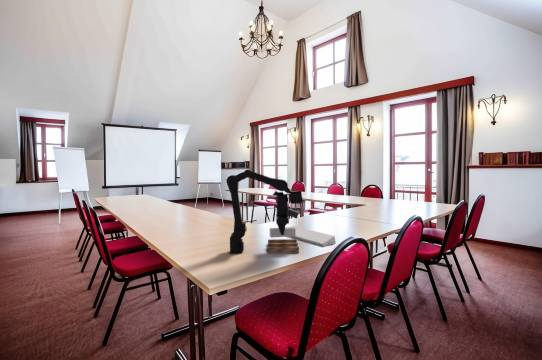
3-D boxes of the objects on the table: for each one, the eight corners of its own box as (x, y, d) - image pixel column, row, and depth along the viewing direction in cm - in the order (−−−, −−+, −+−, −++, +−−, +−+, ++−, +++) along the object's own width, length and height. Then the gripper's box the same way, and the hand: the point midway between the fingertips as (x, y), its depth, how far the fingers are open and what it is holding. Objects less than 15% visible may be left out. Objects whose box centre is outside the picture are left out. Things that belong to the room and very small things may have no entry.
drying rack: (267, 253, 137) (267, 247, 137) (268, 244, 153) (268, 239, 153) (298, 252, 137) (298, 247, 137) (296, 244, 153) (296, 239, 152)
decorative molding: (324, 251, 148) (336, 243, 153) (322, 243, 147) (334, 235, 152) (284, 239, 175) (295, 232, 181) (282, 232, 174) (293, 226, 180)
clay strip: (270, 237, 138) (270, 229, 138) (269, 235, 142) (269, 228, 141) (295, 236, 140) (295, 228, 140) (293, 234, 144) (293, 227, 144)
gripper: (299, 206, 131) (299, 238, 131) (296, 201, 149) (296, 229, 150) (276, 206, 131) (276, 238, 132) (276, 201, 150) (276, 229, 150)
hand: (282, 233), depth 141 cm, fingers closed on clay strip, 4 cm apart
